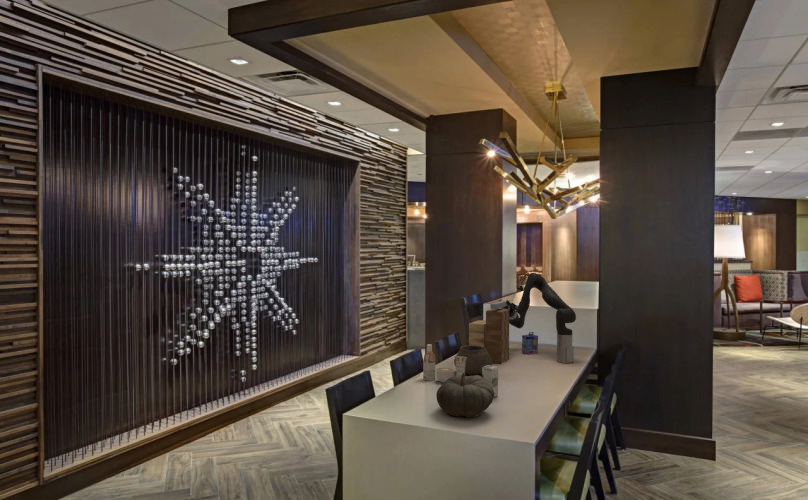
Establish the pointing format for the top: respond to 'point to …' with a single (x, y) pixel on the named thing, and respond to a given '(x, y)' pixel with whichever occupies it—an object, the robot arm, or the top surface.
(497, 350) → the walnut stand
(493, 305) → the batten
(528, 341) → the ink cartridge box
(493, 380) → the white carton
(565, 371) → the top surface
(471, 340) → the oak stand
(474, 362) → the clay pot
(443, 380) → the cosmetic set
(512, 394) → the top surface
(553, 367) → the top surface
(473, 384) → the gourd
